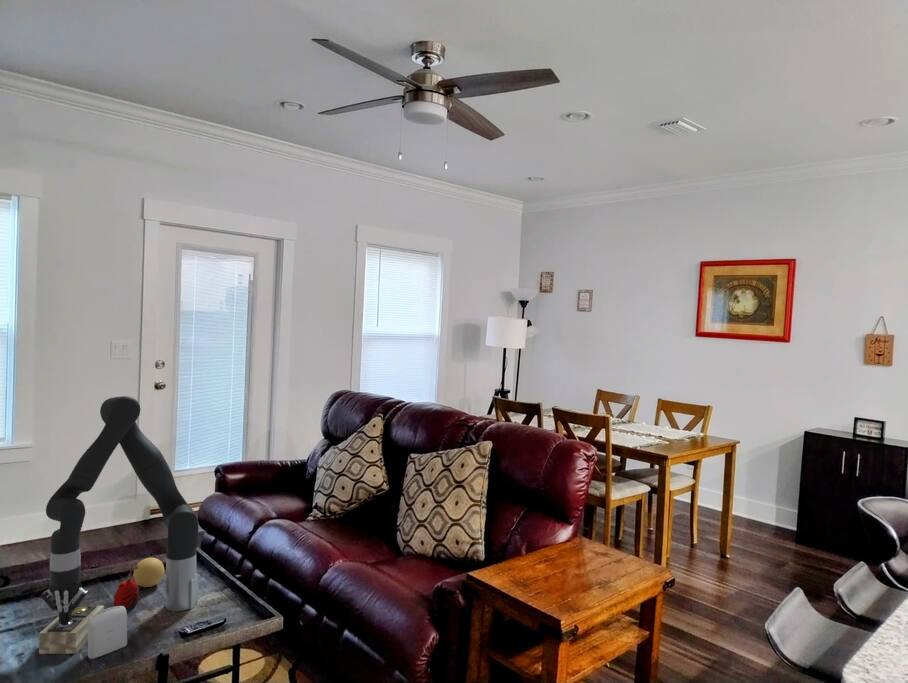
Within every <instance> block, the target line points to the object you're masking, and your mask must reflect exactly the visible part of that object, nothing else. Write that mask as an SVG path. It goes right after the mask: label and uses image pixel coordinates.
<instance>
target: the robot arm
mask: <svg viewBox="0 0 908 683" xmlns="http://www.w3.org/2000/svg"><path fill="white" fill-rule="evenodd" d="M141 411H142V410H141V405H140V403H139V400H137V399H136V398H134V397H132V396H127V395H126V396H124V395H123V396H116V397H110V398H107V399H106V400H104V401H103V402H102V403H101V406H100V411H99V412H100V417H101V420H102V421H103V423H104V426H103V428H102V430H101V432H100V433H99V435H98V436H97V438H96V439H95V440H94V441H93V442H92V443H91V445H90V446H88V448H87V449H86V450H85V451H84V453H83V454H82V455H81V456H80V458H79V459H78V461H77V462H76V463H75V466H74V468H73V470H72V471H71V473H70V475H69V476H68V478H67V480H66V481H64V482H63V484H61V486H60V487H58V489H57V490H56V491H55V492H54V493H53V495H52V496H51V497H50V498H49V500H48V501H47V504H46V507H45V514H46V516H47V517H48V519H49V520H53V521H57V522H59V523H60V527H59V528H58V529H56V530H54V531H53V532H52V534H51V537H50V557H49V586H48V589H46V590H45V591H43V592H42V593H41V594H40V597H41V598H42V600H43V601H44V602H45V603H46V605H47V606H48V607H49V608H50V610H52V611H57V612H58V616H59V622H61V624H67V623H68V622H69V621H70V620H71V619H72V610H74V609H75V608H76V607H77V606H79V605H81V603H82V602H83V601H84V600H85V598H86V597H88V595H89V594H90V590H89V589H84V588H83V587H82V585H83V584H82V583H81V569H82V568H81V561H82V560H81V550H80V549H81V547H80V543H81V542H80V538H81V537H80V534H81V531H82V528H83V523H84V522H85V521H84V520H85V517H86V507H85V504H84V502H83V501H82V500H81V499H79V498H78V497H79V496H80V494H83V493H87V492H90V491H91V490H92V489H93V487H94V486H95V483H96V482H97V480H98V478H99V476H100V475H101V473H102V471H103V470H104V468H105V466H106V464H107V462H108V461H109V459H110V457H111V456H112V454H113V453H114V451H115V450H116V448H117V447H118V445H120V447H121V449H122V450H123V452H124V454H125V456H126V458H127V460H128V461H129V463H130V466H131V467H132V469H133V471H134V472H135V474H136V477H137V478H138V480H139V482H140V483H141V484H142V486H143V488H145V490H146V491H147V492H148V493H149V495H151V496H152V498H153V499H154V500H155V502H156V504H157V505H158V508H159V510H160V512H161V514H162V517H163V520H164V523H165V525H166V528H167V547H166V550H165V609H166V610H167V611H170V612H182V611H186V610H192V609H193V608H194V606H195V605H196V604H197V602H198V600H199V598H198V597H199V573H197V548H198V543H199V519H198V518H199V517H198V516H197V514H196V512H195V510H194V509H193V508H192V507H191V506H190V505H189V504H188V502H187V500H186V499H185V498H184V496H183V495H182V494H181V493H180V490H179V489H178V487H177V484H176V481H175V478H174V476H173V472H172V471H171V470H172V469H171V468H170V466H169V464H168V463H167V461H166V459H165V456H164V455H163V454H162V452H161V450H159V448H158V447H157V446H156V445H155V444H154V443H153V442H152V441H151V440H150V439H149V438H148V437H147V436H146V435H145V434H144V432H143V431H141V429H140V427H139V426H138V423H137V422H136V421H137V420H138V418H139V416H140V415H141ZM76 596H77V598H76V599H75V597H76Z"/></svg>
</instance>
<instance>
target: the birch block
mask: <svg viewBox="0 0 908 683" xmlns="http://www.w3.org/2000/svg"><path fill="white" fill-rule="evenodd" d="M82 606H85V607H87V611H86V612H85V613H84V614H73V610H72V619H71V620H72V621H73V625H72V626H71V627H70V628H58V623H60V622H59V615H58V616H57V617H56V618H55V619H53V620H52V621H51V622H50V623H49V624H48V625H47V626H46V627H44V628H43V629H42V630H41V631H40V632H39V633H38V635H39V636H38V644H39V645H38V646H39V647H38V649H39V650H38V653H39V654H40V655H46V654H47V655H49V654H50V655H52V654H54V655H55V654H58V655H59V654H61V655H62V654H65V655H66V654H77V653H78V652H79V651H80V650H81V649H82V648H83V647H84V645H86V643H88V618H90V617H91V616H92V615H94V614H96V613H98V612H100V611H102V610H104V609H105V605H97V604H79V606H77V607H76V608H78V607H82Z"/></svg>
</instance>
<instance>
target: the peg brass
mask: <svg viewBox="0 0 908 683" xmlns="http://www.w3.org/2000/svg"><path fill="white" fill-rule="evenodd" d="M86 611H87V607H85V606H82V607H78V608H75V609H74V610H73V614H84V613H85V612H86Z"/></svg>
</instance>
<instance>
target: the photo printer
mask: <svg viewBox="0 0 908 683" xmlns="http://www.w3.org/2000/svg"><path fill="white" fill-rule="evenodd" d="M127 613H128V612H127V610H126V608H125V607H124V606H115V607H114V606H110V607H107V608H104V610H102V611H100V612H98V613H96V614H94V615H92V616H91V617H90V618H88V641H87V657H88V658H89V659H91V660H93V659H97V658H99V657H102V656H104V655H107V654H110V653H113V652H114V651H118V650H119V649H122V648H125V647H126V646H127V645H128V614H127Z"/></svg>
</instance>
